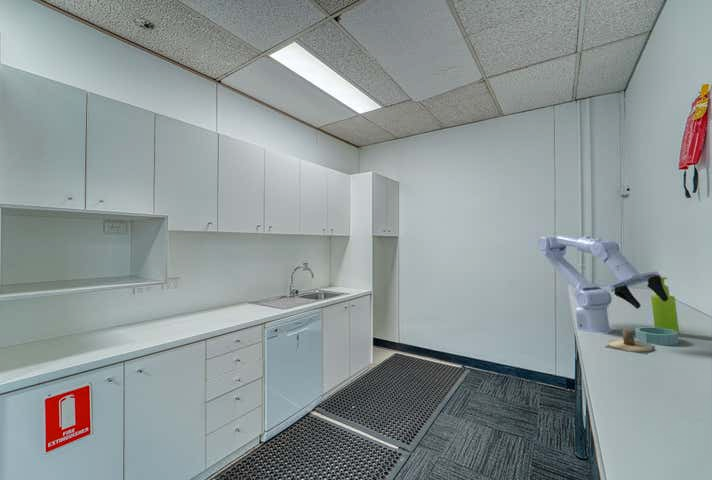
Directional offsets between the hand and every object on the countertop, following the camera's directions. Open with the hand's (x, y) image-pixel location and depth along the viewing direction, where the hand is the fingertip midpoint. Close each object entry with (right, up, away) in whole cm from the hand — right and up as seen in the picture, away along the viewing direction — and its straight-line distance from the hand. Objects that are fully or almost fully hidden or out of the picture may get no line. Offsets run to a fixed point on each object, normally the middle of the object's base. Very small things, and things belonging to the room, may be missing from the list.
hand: (652, 303), depth 95 cm
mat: (-6, -14, +1) cm, 16 cm away
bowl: (+6, -14, +5) cm, 16 cm away
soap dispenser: (+16, -13, +12) cm, 24 cm away
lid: (-6, -14, +1) cm, 15 cm away
